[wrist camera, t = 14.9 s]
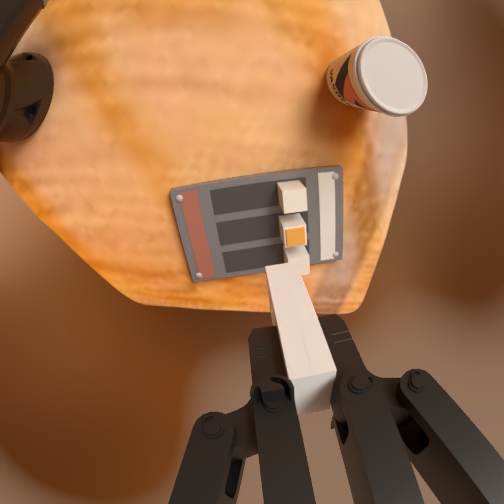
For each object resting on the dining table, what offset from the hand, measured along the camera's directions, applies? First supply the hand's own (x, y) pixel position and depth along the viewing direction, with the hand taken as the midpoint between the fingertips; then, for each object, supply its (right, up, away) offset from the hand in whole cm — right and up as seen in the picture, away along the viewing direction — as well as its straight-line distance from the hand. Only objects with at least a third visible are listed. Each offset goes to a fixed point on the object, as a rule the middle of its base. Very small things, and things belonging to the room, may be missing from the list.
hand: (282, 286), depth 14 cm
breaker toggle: (+4, +6, +26) cm, 26 cm away
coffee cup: (+12, +26, +17) cm, 33 cm away
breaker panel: (0, +6, +27) cm, 28 cm away
